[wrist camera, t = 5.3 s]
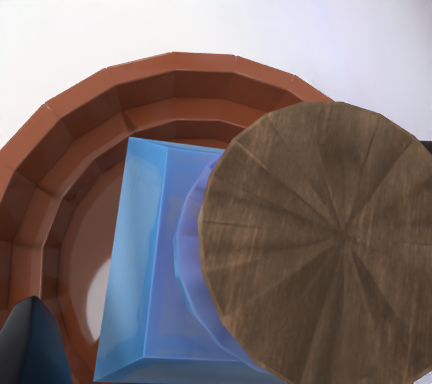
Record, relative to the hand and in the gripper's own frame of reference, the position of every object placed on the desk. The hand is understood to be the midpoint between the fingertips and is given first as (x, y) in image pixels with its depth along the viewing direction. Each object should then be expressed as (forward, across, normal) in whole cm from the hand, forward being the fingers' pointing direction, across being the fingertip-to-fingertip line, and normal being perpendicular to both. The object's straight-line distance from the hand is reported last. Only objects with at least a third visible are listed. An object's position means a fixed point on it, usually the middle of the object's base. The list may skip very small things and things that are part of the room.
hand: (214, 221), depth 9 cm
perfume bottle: (+4, 0, +6) cm, 7 cm away
